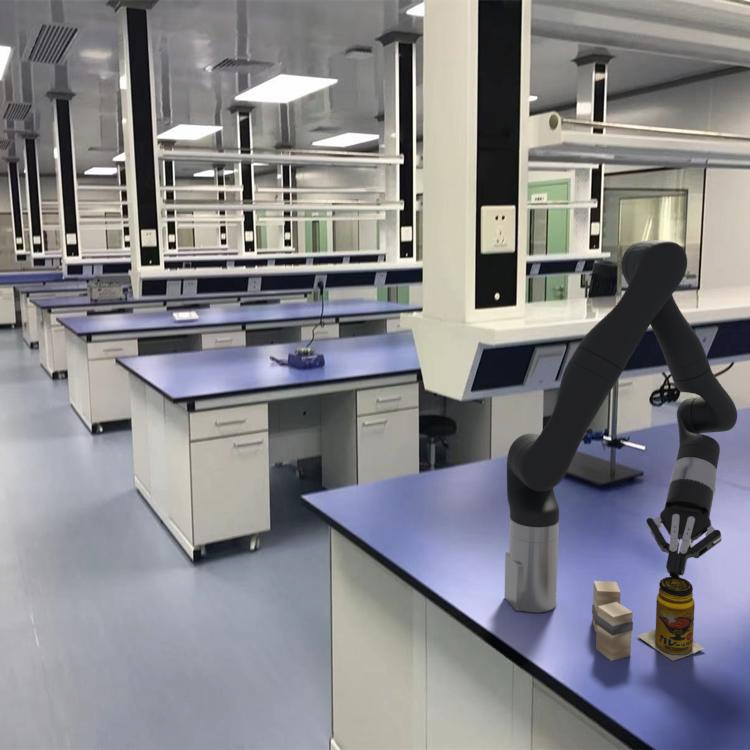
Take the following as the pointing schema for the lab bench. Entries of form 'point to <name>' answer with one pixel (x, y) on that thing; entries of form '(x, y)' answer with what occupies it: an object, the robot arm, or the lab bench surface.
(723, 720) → the lab bench surface
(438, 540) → the lab bench surface
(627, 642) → the banded post
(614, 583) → the banded post
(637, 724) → the lab bench surface
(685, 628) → the condiment
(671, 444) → the lab bench surface
